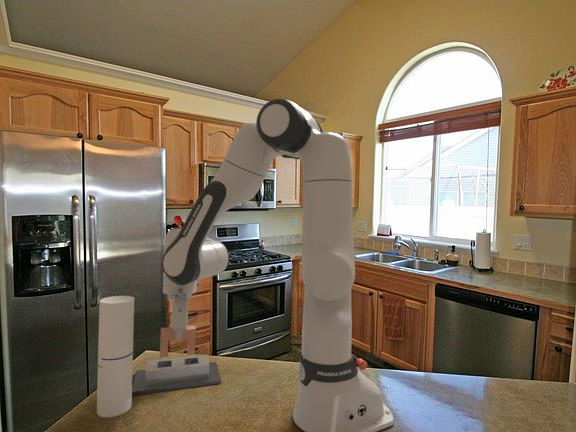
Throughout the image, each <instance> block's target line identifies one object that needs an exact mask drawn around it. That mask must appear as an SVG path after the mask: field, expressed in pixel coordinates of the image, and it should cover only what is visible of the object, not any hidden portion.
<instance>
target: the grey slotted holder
mask: <svg viewBox="0 0 576 432" xmlns="http://www.w3.org/2000/svg"><path fill="white" fill-rule="evenodd" d="M220 374H221V373H220V370H219V367H218V364H217V361H213V362H212V361H211V362H210V361H209V357H208V354H200V355H191V356H190V355H188V356H180V357H170V358H168V357H167V358H161V359H152V360H149V359H148V360H147V362H146V368H145V369H139V370H136V371H135V376H134V379H133V382H132V396H136V395H137V396H138V395H143V394H151V393H158V392H167V391H174V390H182V389H187V388H188V389H189V388H196V387H203V386H204V387H205V386H211V385H212V386H213V385H218V384H219V385H220V384H222V377H221V375H220Z"/></svg>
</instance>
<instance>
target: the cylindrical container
mask: <svg viewBox="0 0 576 432" xmlns="http://www.w3.org/2000/svg"><path fill="white" fill-rule="evenodd" d="M98 305H99V308H98V309H99V311H98V313H99V314H98V343H97V344H98V349H97V382H96V383H97V384H96V385H97V388H96V389H97V390H96V391H97V392H96V414H97V416H99V417H100V418H114V417H118V416H121V415H123V414H125V413H126V412H128V411H129V410H131V408H132V405H133V404H132V401H133V395H132V387H133V364H134V363H133V362H134V328H135V327H134V326H135V325H134V324H135V323H134V322H135V297H134V296H131V295H114V296H108V297H107V296H106V297H103V298H101V299H100V300H99V304H98Z"/></svg>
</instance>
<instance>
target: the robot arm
mask: <svg viewBox="0 0 576 432" xmlns="http://www.w3.org/2000/svg"><path fill="white" fill-rule="evenodd" d="M348 144H349V143H348V142H347V140H346V139H345V138H344V137H343V136H341V134H339V133H335V132H330V131H329V132H327V131H326V132H323V128H322V126H321V124H319V122H318V121H317V120H316V119H314V117H313V116H312V115H311V114H310V113H309V112H308V111H306V110H305V109H304V108H303V107H301V106H299V105H298V104H297V103H295V102H294V101H292V100H289V99H285V98H276V99H275V98H274V99H271V100H269V101H268V102H267V103H265V104H264V105H263V106H262V107H261V108H260V110H259V112H258V114H257V117H256V122H249V123H245V124H243V125H242V126H241V127H240V128H239V130H238V131H237V132H236V134H235V136H234V138H233V139H232V142H231V143H230V145H229V146H228V149H227V151H226V153H225V155H224V158H223V160H222V162H221V165H220V166H219V169H218V171H217V172H216V173H215V175H214V176H213V178H212V180H210V182H208V183H207V185H205V187H204V188H203V190H202V191H201V192H200V194H199V195H198V197H197V199H196V201H195V203H194V205H193V206H192V208H191V210H190V212H189V214H188V215H187V217H186V220H185V221H184V223H183V226H178V227H173V228H171V229H169V230H168V231H167V233H166V236H165V239H164V240H165V241H164V247H163V257H162V259H161V261H162V262H161V263H162V264H161V267H162V270H163V272H162V273H163V274H162V278H163V279H162V293H163V294H164V295H167V300H168V301H169V300H170V301H171V327H172V329H173V330H174V331H175V339H176V340H175V341H181V340H183V339H182V333H183V330H186V329H187V326H189V325H188V323H189V322H188V321H189V318H188V317H189V315H188V312H189V311H188V310H189V301H188V300H190V299H192V296H193V295H192V294H195V293H197V290H198V289H197V287H198V286H197V285H198V283H197V282H198V281H199V280H203V279H207V278H210V277H215V276H217V275H219V274H222V273H224V271H225V270H226V269H227V267H228V264H229V260H230V257H229V252H228V249H227V247H226V245H225V244H224V243H223V242H221V241H218V240H214V239H212V238H210V237H209V235H210V233H211V232H212V231H211V230H212V229H213V227H214V225H215V224H216V222H217V220H218V219H219V217H221V216H222V215H223V214H224V213H226V211H229V210H230V209H232V208H235V207H236V206H238V205H241V204H245V203H247V202H248V201H249V202H250V201H251V200H252V199H254V197H255V196H256V195H257V194H258V192H259V190H260V189H261V186H262V185H263V183H264V180H265V178H266V176H267V173H268V171H269V168H270V165H271V164H272V162H273V161H275V159H276V158H277V157H279V156H281V157H282V158H284V159H294V160H300V162H301V167H302V239H301V240H302V241H301V279H302V282H303V284H304V291H303V308H302V309H303V310H302V322H301V323H302V325H301V327H302V330H301V333H302V334H301V351H300V352H299V359H298V360H299V363H298V378H299V386H298V392H297V398H296V402H295V405H294V409H293V412H292V418H293V422H294V423H295V424H296V426H297V427H298V428H299V429H301V430H302V431H304V432H379V431H381V430H383V429H386V428H389V427H391V426H393V425H394V423H395V421H394V419H395V418H394V415H393V413H392V411H391V410H390V409H389V407H388V406H387V405H386V404H385V402H383V400H384V399H383V396H382V394H381V391H380V389H379V387H378V386H377V385H376V384H375V383H374V382H373V381H372V380H371V379H369V378H368V377H367V376H366V375H365V374H364V373H362V372H361V371H365V370H366V368H368V362H367V361H366V360H363V359H362V358H361V357H359V358H358V356H356V355H355V354H353V353H352V336H353V335H352V327H353V316H352V312H353V311H352V310H353V309H352V287H353V285H354V282H355V277H356V264H355V263H356V258H355V255H356V254H355V238H354V235H355V234H354V233H355V232H354V219H353V217H354V215H353V210H354V209H353V172H352V171H353V170H352V161H351V160H352V159H351V155H350V149H349V146H348Z"/></svg>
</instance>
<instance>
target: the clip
mask: <svg viewBox="0 0 576 432" xmlns="http://www.w3.org/2000/svg"><path fill="white" fill-rule="evenodd" d="M196 333H197V330H196V325H187V329H186V330H183V333H182V339H181V340H186V341H187V342H186V355H188V356H190V355H191V356H192V355H195V354H196ZM159 341H160V343H159V344H160V345H159V346H160V347H159V349H160V350H159V358H168V356H169V341H177V340H176V339H175V331H174V330H173V329H172V326H170V327H161V328H160V340H159Z"/></svg>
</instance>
